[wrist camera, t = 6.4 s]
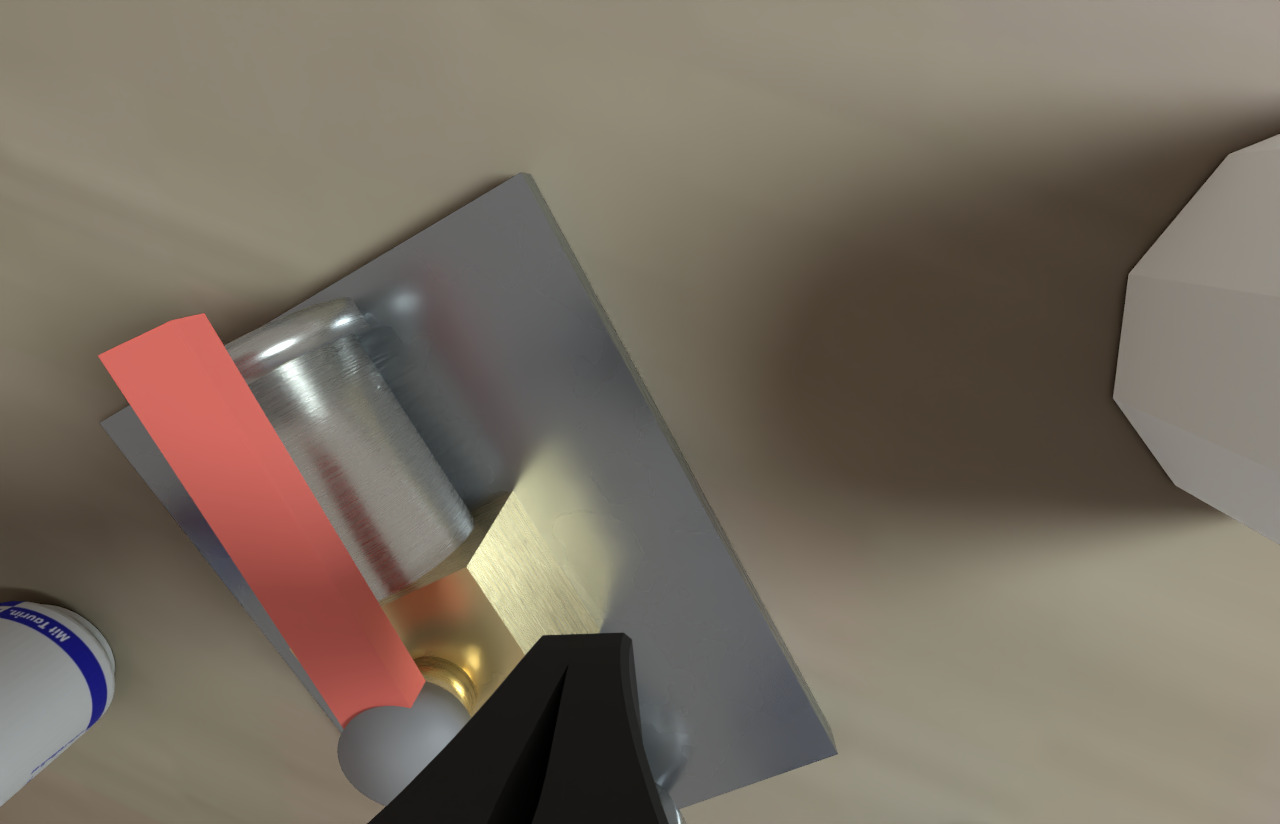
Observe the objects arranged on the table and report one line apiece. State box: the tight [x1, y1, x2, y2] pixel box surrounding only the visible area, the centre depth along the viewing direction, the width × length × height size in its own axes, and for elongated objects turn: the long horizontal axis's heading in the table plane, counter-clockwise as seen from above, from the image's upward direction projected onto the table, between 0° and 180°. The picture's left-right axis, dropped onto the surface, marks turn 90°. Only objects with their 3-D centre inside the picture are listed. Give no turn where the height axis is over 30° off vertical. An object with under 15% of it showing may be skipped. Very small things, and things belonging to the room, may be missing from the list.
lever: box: [98, 313, 471, 806], centre depth 13 cm, size 11×3×1 cm, turn 23°
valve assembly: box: [100, 172, 838, 824], centre depth 17 cm, size 19×14×6 cm
